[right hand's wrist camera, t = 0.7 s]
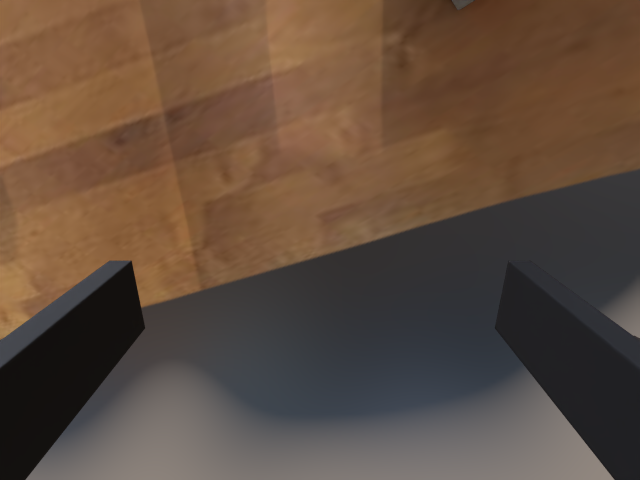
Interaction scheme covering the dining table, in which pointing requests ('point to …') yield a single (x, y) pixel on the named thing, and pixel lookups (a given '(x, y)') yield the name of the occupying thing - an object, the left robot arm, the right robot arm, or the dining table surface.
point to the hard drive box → (461, 3)
